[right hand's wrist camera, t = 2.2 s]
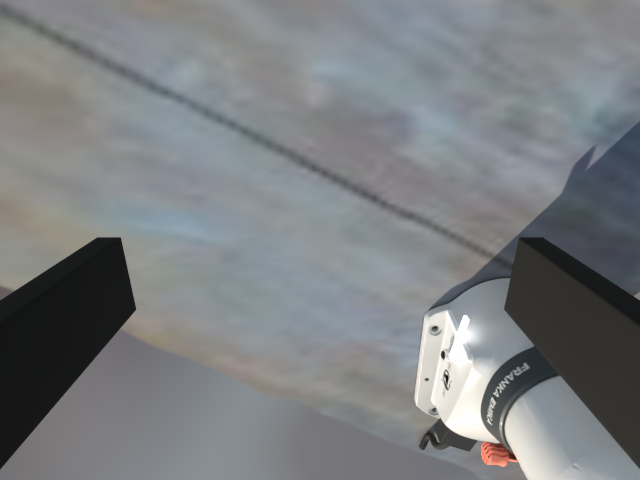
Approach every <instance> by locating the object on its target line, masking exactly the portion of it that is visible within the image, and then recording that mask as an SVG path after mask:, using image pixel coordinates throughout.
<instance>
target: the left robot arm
mask: <svg viewBox="0 0 640 480" xmlns="http://www.w3.org/2000/svg"><path fill="white" fill-rule="evenodd" d="M509 283H510V278H502V279H495V280H490V281H487V282H484V283H481V284H478V285H476V286H474V287H472V288H470V289H469V290H467V291H465V292H464V293H463V294H461V295H460V296H459V297H457V298H456V299H455V300H453V301H452V302H450V303H448V304H445V305H442V306H439V307H436V308H434V309H431V310H430V311H428V312H427V313H426V315H425V317H424V324H423V332H422V340H421V348H420V356H419V364H418V372H417V380H416V388H415V397H414V399H415V403H416V405H417V406H418V407H419V408H420V409H421V410H423V411H424V412H426V413H427V414H429V415H431V416H434V417H436V418H439V420H438V422H437V423H436V425H435V426H434V427H435V430H436V433H437V436H438V439H439V441H440V443H438V442H437V440H436V438H435V436H434V435H433V434H432V433H426V434H425V436H424V437H423V439H422V441H421V443H420V445H419V447H420V449H422V450H424V449H425V447H426V445H427V443H428V441H429V440H430V441H431V444H432V446H433V447H434V448H435V449H438V450H443V449H445V448H447V447H449V446H452V447H456V448H459V449H462V450H466V451H470V450H471V449H472V447H473V446H474V445H475V443H476V442H477V441H478V440H480V441H486V442H483V444H482V446H481V451H482V452H481V456H482V459H483V461H484V463H486V464H487V465H500V466H502V467H505V466H506V465H507V464H508V461H514V462H518V463H519V465H520V466H521V468H522V470H523V471H524V473H525V475H526V477H527V479H528V480H640V469H639V468H638V467H637V465H636V464H635V463H634V462H633V461H632V460H631V458H630V457H629V456H628V455H627V454H626V453H625V451H624V450H623V449H622V448H621V447H620V445H619V444H618V443H617V442H616V441H615V440H614V438H613V437H612V436H611V435H610V434H609V433H608V431H607V430H606V429H605V428H604V427H603V425H602V424H601V423H600V422H599V421H598V420H597V418H596V417H595V416H594V415H593V414H592V413H591V411H590V410H589V409H588V408H587V407H586V406H585V404H584V403H583V402H582V401H581V400H580V398H579V397H578V396H577V395H576V394H575V393H574V391H573V390H572V389H571V388H570V387H569V386H568V384H567V383H566V382H565V381H564V380H563V378H562V377H561V376H560V375H559V374H558V373H557V371H556V370H555V369H554V368H553V367H552V366H551V364H550V363H549V362H548V361H547V360H546V358H545V357H544V356H543V355H542V354H541V353H540V351H539V350H538V349H537V348H536V347H535V346H534V344H533V343H532V342H531V341H530V340H529V338H528V337H527V336H526V335H525V334H524V333H523V331H522V330H521V329H520V328H519V327H518V326H517V324H516V323H515V322H514V321H513V320H512V318H511V317H510V316H509V315H508V314H507V313H506V311H505V310H504V306H505V302H506V297H507V292H508V288H509ZM433 326H436V327H435V328H432V327H433ZM490 442H495V443H501V444H493V443H490ZM506 448H507V449H506Z"/></svg>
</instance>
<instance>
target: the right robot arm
mask: <svg viewBox="0 0 640 480" xmlns="http://www.w3.org/2000/svg"><path fill="white" fill-rule="evenodd" d="M135 310H136V306H135V302H134V297H133V292H132V288H131V283H130V278H129V274H128V269H127V265H126V260H125V255H124V251H123V246H122V241H121V238H96V239H94V240H93V241H91V242H90V243H88V244H87V245H85V246H84V247H82V248H81V249H79V250H77V251H76V252H74V253H73V254H71V255H70V256H68V257H67V258H65V259H64V260H62V261H60V262H59V263H57V264H56V265H54V266H53V267H51V268H50V269H48V270H47V271H45V272H43V273H42V274H40V275H39V276H37V277H36V278H34V279H33V280H31V281H30V282H28V283H27V284H25V285H23V286H22V287H20V288H19V289H17V290H16V291H14V292H13V293H11V294H10V295H8V296H7V297H5V298H3V299H2V300H0V469H1V468H2V467H3V465H4V464H5V463H6V462H7V461H8V460H9V458H10V457H11V456H12V455H13V454H14V452H15V451H16V450H17V449H18V448H19V447H20V445H21V444H22V443H23V442H24V441H25V440H26V438H27V437H28V436H29V435H30V434H31V433H32V431H33V430H34V429H35V428H36V427H37V425H38V424H39V423H40V422H41V421H42V420H43V418H44V417H45V416H46V415H47V414H48V413H49V411H50V410H51V409H52V408H53V407H54V406H55V404H56V403H57V402H58V401H59V400H60V398H61V397H62V396H63V395H64V394H65V392H66V391H67V390H68V389H69V388H70V387H71V386H72V384H73V383H74V382H75V381H76V380H77V378H78V377H79V376H80V375H81V374H82V373H83V371H84V370H85V369H86V368H87V367H88V366H89V364H90V363H91V362H92V361H93V360H94V358H95V357H96V356H97V355H98V354H99V353H100V351H101V350H102V349H103V348H104V347H105V345H106V344H107V343H108V342H109V341H110V340H111V338H112V337H113V336H114V335H115V334H116V333H117V331H118V330H119V329H120V328H121V327H122V326H123V324H124V323H125V322H126V321H127V320H128V318H129V317H130V316H131V315H132V314H133V313H134V311H135ZM504 310H505V311H506V313H507V314H508V315H509V316H510V317H511V318H512V320H513V321H514V322H515V323H516V324H517V326H518V327H519V328H520V329H521V330H522V331H523V333H524V334H525V335H526V336H527V337H528V338H529V340H530V341H531V342H532V343H533V344H534V346H535V347H536V348H537V349H538V350H539V351H540V353H541V354H542V355H543V356H544V357H545V358H546V360H547V361H548V362H549V363H550V364H551V366H552V367H553V368H554V369H555V370H556V371H557V373H558V374H559V375H560V376H561V377H562V378H563V380H564V381H565V382H566V383H567V384H568V386H569V387H570V388H571V389H572V390H573V391H574V393H575V394H576V395H577V396H578V397H579V398H580V400H581V401H582V402H583V403H584V404H585V406H586V407H587V408H588V409H589V410H590V411H591V413H592V414H593V415H594V416H595V417H596V418H597V420H598V421H599V422H600V423H601V424H602V425H603V427H604V428H605V429H606V430H607V431H608V433H609V434H610V435H611V436H612V437H613V438H614V440H615V441H616V442H617V443H618V444H619V445H620V447H621V448H622V449H623V450H624V451H625V453H626V454H627V455H628V456H629V457H630V458H631V460H632V461H633V462H634V463H635V464H636V465H637V467H638V468H639V469H640V300H638V299H637V298H635V297H634V296H632V295H630V294H629V293H627V292H626V291H624V290H623V289H621V288H620V287H618V286H617V285H615V284H613V283H612V282H610V281H609V280H607V279H606V278H604V277H603V276H601V275H600V274H598V273H597V272H595V271H593V270H592V269H590V268H589V267H587V266H586V265H584V264H583V263H581V262H580V261H578V260H576V259H575V258H573V257H572V256H570V255H569V254H567V253H566V252H564V251H563V250H561V249H559V248H558V247H556V246H555V245H553V244H552V243H550V242H549V241H547V240H546V239H544V238H519V241H518V246H517V251H516V255H515V260H514V265H513V269H512V274H511V278H510V283H509V288H508V292H507V297H506V302H505V306H504Z"/></svg>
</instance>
